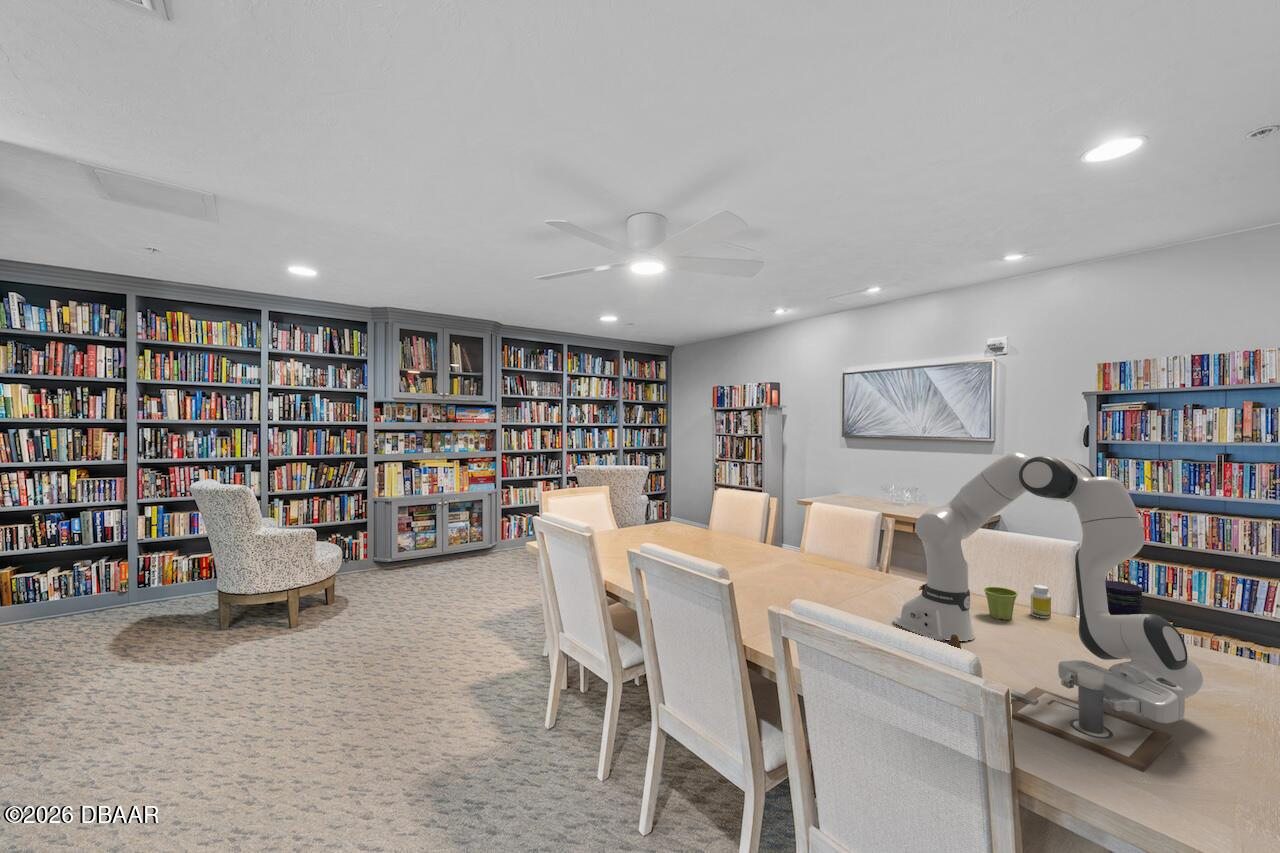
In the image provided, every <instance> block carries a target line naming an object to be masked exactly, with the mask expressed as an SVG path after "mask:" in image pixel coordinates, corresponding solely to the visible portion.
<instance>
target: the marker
mask: <svg viewBox="0 0 1280 853" xmlns="http://www.w3.org/2000/svg"><path fill="white" fill-rule="evenodd" d="M1077 687H1078V688H1077V689H1078V690H1077V692H1078V702H1079V727H1080V728H1082V729H1083V730H1085V731H1088V732H1091V733H1096V734H1102V733H1103V732H1104V719H1103V711H1104V698H1103V689H1104V673H1103V672H1101V671H1099V670H1097V669H1094V668H1090V667H1078V686H1077Z"/></svg>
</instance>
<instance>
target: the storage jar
mask: <svg viewBox="0 0 1280 853" xmlns="http://www.w3.org/2000/svg"><path fill="white" fill-rule="evenodd" d="M1105 586H1106V595H1107V604H1108V611H1109V613H1110V615H1130V614H1142V608H1143V598H1144V597H1143V587H1141V586H1140V585H1138V584H1137V585H1136V584H1133V583H1129V582H1123V581H1117V580H1105Z"/></svg>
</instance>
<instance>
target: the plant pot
mask: <svg viewBox="0 0 1280 853" xmlns="http://www.w3.org/2000/svg"><path fill="white" fill-rule="evenodd" d="M983 591H984V594H985V596H986V600H987V606H988V612H989V616H990V617H992V618H994V619H996V620H1003V621H1010V620H1012V619H1013V613H1014V607H1015V603H1016V599H1017V596H1019V594H1018V593H1019V592H1017V591H1015V590H1014V589H1011V588H1005V587H1002V586H1001V587H1000V586H988V587H987V586H986V587H984V588H983Z"/></svg>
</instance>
